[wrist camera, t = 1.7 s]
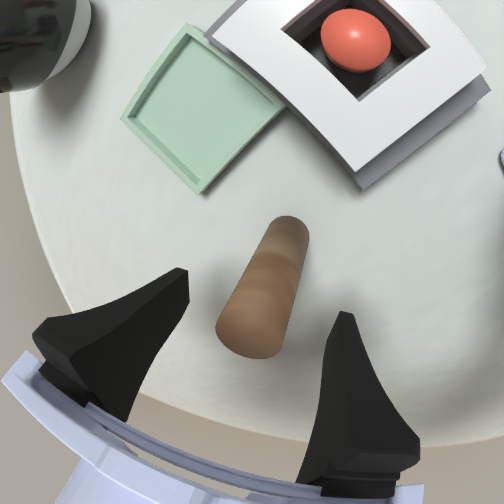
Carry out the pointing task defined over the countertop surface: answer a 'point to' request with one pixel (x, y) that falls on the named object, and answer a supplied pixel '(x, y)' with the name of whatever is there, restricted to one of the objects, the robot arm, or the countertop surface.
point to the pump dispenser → (39, 39)
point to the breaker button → (355, 40)
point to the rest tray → (199, 108)
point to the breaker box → (376, 96)
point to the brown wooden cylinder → (265, 292)
